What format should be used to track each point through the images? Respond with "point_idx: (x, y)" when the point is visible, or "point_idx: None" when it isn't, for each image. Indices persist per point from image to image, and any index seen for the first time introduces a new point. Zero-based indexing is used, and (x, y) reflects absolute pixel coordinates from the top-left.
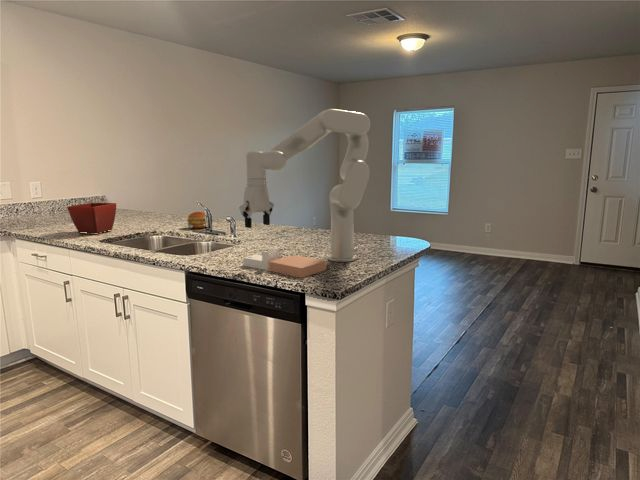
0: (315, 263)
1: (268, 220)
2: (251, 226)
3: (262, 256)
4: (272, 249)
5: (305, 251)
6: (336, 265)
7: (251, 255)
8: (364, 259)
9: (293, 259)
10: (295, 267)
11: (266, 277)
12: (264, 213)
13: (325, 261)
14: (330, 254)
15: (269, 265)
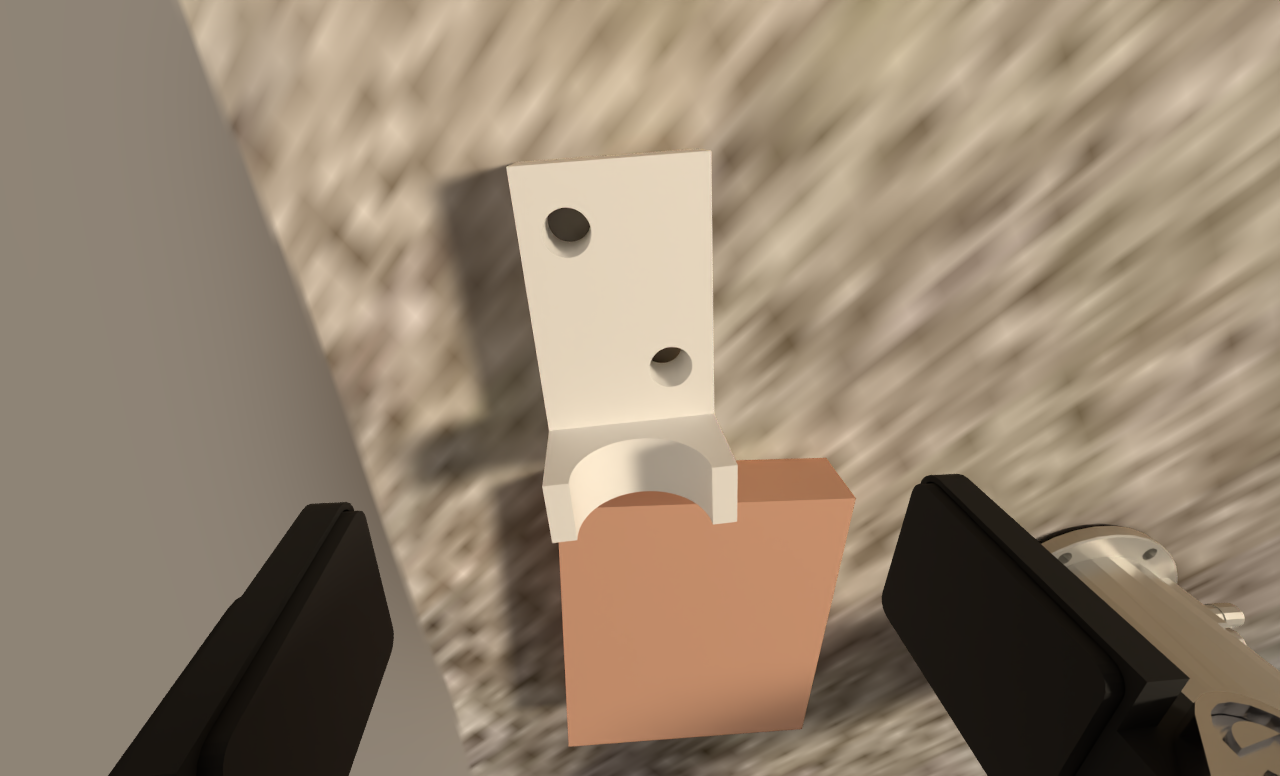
0: (712, 729)
1: (945, 691)
2: (381, 664)
3: (547, 459)
4: (707, 467)
5: (1261, 244)
6: (895, 660)
7: (646, 159)
8: None
9: (724, 587)
10: (567, 709)
11: (421, 569)
12: (1189, 772)
13: (797, 725)
14: (1107, 539)
15: None
